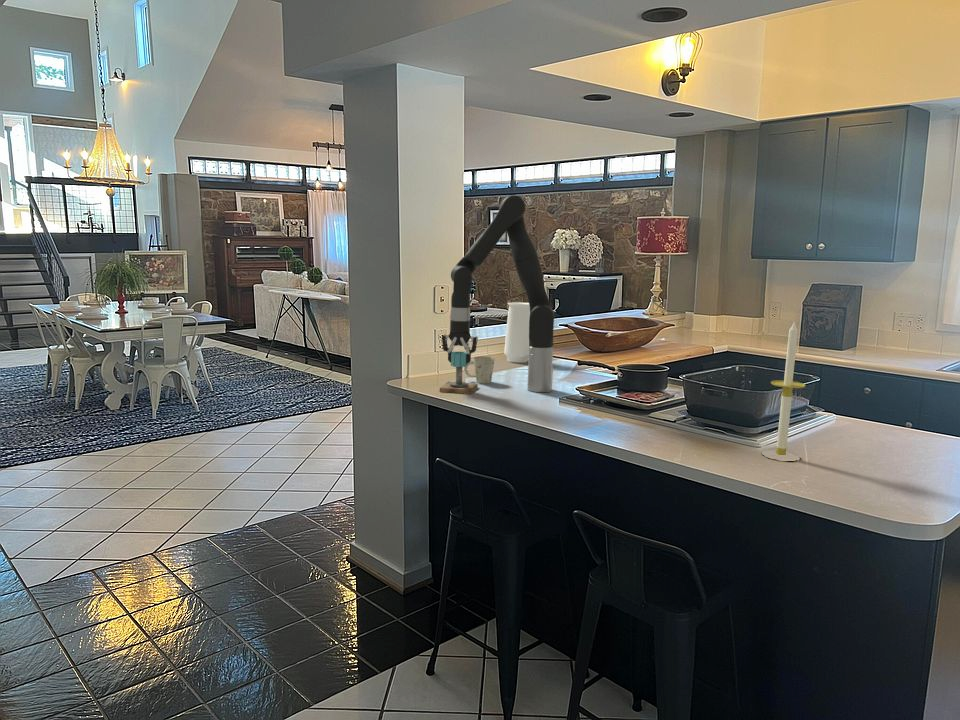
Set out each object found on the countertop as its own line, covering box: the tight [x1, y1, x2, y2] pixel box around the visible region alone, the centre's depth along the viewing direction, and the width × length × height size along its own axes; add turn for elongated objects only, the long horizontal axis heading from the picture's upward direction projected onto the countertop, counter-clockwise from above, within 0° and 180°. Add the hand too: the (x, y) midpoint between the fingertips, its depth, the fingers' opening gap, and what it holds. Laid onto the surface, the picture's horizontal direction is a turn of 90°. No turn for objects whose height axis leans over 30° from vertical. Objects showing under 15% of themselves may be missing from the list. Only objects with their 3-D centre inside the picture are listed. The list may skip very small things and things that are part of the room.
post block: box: [439, 367, 479, 395], centre depth 258 cm, size 12×12×10 cm
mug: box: [463, 355, 496, 384], centre depth 274 cm, size 8×13×10 cm, turn 78°
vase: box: [503, 301, 531, 364], centre depth 324 cm, size 13×13×28 cm
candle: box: [770, 320, 806, 455], centre depth 181 cm, size 10×10×38 cm
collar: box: [450, 350, 467, 368], centre depth 257 cm, size 6×6×5 cm
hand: (459, 362), depth 257 cm, fingers closed on collar, 6 cm apart
